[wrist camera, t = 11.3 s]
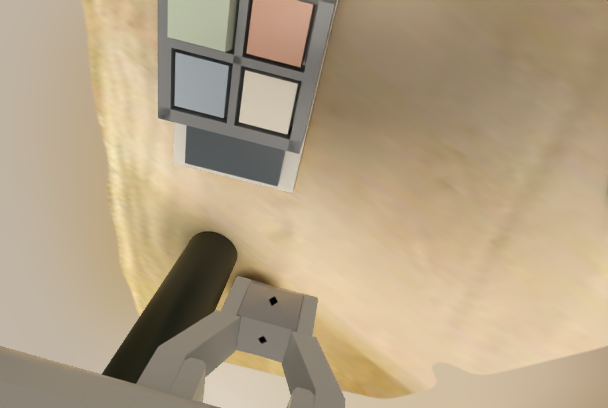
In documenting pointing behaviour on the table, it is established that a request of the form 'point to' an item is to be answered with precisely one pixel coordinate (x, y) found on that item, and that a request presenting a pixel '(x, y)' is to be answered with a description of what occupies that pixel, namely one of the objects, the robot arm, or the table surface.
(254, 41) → the key terracotta
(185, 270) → the wine bottle
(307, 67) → the keypad
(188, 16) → the key sage
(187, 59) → the key slate
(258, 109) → the key ivory
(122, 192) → the table surface
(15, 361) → the robot arm
